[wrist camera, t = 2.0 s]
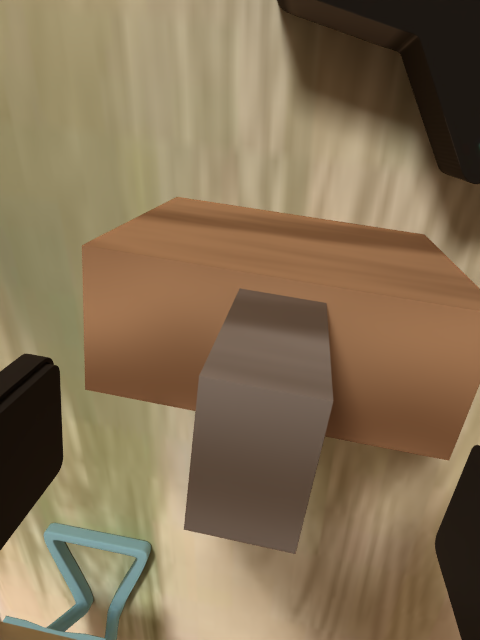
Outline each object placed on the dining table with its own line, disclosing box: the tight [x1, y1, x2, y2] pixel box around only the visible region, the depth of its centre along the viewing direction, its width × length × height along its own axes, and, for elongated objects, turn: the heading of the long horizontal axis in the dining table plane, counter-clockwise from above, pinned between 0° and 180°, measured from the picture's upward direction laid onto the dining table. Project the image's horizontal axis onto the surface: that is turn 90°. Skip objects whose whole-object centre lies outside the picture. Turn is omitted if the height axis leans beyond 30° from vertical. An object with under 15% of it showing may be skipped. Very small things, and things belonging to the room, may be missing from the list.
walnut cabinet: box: [82, 197, 480, 554], centre depth 16 cm, size 5×12×15 cm, turn 83°
